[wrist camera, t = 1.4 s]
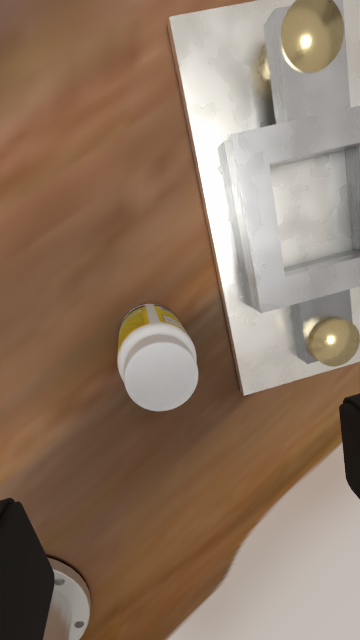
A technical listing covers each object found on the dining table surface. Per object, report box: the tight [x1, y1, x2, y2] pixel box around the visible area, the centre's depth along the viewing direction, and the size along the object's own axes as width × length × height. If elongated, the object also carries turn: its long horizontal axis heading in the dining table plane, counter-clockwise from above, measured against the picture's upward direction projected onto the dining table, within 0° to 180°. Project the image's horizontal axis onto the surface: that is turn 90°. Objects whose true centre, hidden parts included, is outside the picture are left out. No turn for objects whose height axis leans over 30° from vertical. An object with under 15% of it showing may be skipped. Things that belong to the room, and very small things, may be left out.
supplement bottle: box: [117, 304, 198, 411], centre depth 21 cm, size 5×5×8 cm
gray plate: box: [167, 0, 360, 396], centre depth 23 cm, size 26×14×4 cm, turn 13°
